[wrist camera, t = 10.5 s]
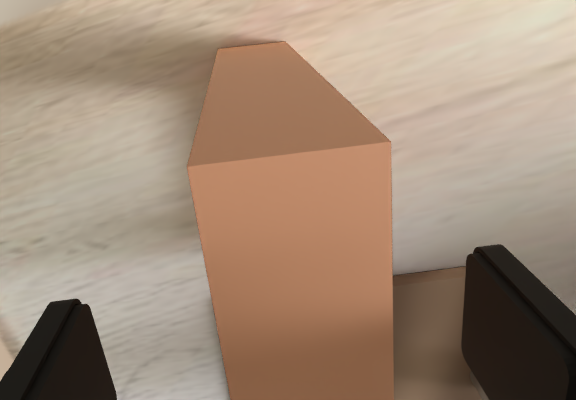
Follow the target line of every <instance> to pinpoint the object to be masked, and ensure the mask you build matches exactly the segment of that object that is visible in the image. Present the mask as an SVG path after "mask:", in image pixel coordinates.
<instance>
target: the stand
mask: <svg viewBox="0 0 576 400" xmlns="http://www.w3.org/2000/svg"><path fill="white" fill-rule="evenodd" d="M465 275H466V266H464V267H457V268H449V269H441V270H434V271H426V272H418V273H411V274H403V275H395V276H393V361H394V400H489V399H488V397H487V396H486V394H485V392H484V391H483V389H482V387H481V386H480V384H479V382H478V381H477V379H476V378H475V376H474V374H473V373H472V371H471V369H470V368H469V366H468V365H467V363H466V361H465V359H464V357H463V354H462V349H461V339H462V323H463V307H464V291H465Z"/></svg>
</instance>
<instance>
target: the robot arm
mask: <svg viewBox="0 0 576 400" xmlns="http://www.w3.org/2000/svg"><path fill="white" fill-rule="evenodd" d="M461 349H462V354H463V357H464V359H465V361H466V363H467V365H468V366H469V368H470V369H471V371H472V373H473V374H474V376H475V378H476V379H477V381H478V382H479V384H480V386H481V387H482V389H483V391H484V392H485V394H486V396H487V397H488V399H489V400H576V315H575V314H574V313H573V312H572V311H571V310H570V309H569V308H567V307H566V306H565V305H564V304H563V303H562V302H561V301H560V300H559V299H558V298H557V297H556V296H555V295H554V294H553V293H552V292H551V291H550V290H549V289H548V288H547V287H546V286H545V285H544V284H543V283H541V282H540V281H539V280H538V279H537V278H536V277H535V276H534V275H533V274H532V273H531V272H530V271H529V270H528V269H527V268H526V267H525V266H524V265H523V264H522V263H521V262H520V261H519V260H518V259H516V258H515V257H514V256H513V255H512V254H511V253H510V252H509V251H508V250H507V249H506V248H505V247H504V246H503V245H499V244H498V245H490V246H483V247H476V248H475V249H474V251H473V254H469V255H468V256H467V260H466V275H465V291H464V307H463V323H462V339H461ZM0 400H117V396H116V391H115V388H114V384H113V381H112V378H111V375H110V371H109V368H108V365H107V362H106V358H105V355H104V352H103V348H102V345H101V342H100V339H99V335H98V332H97V329H96V326H95V322H94V319H93V316H92V312H91V309H90V307H89V305H88V304H81V302H80V300H78V299H70V300H62V301H54V302H50V303H49V305H48V306H47V308H46V309H45V311H44V313H43V314H42V316H41V317H40V319H39V321H38V322H37V324H36V326H35V327H34V329H33V331H32V332H31V334H30V336H29V337H28V339H27V340H26V342H25V344H24V345H23V347H22V349H21V350H20V352H19V354H18V355H17V357H16V359H15V360H14V362H13V364H12V365H11V367H10V368H9V370H8V371H7V372H6V373H5V375H4V376H3V378H2V380H1V381H0Z"/></svg>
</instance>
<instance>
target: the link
mask: <svg viewBox="0 0 576 400" xmlns="http://www.w3.org/2000/svg"><path fill="white" fill-rule="evenodd" d="M187 170H188V176H189V181H190V186H191V192H192V197H193V202H194V208H195V213H196V218H197V224H198V229H199V234H200V239H201V245H202V250H203V255H204V261H205V266H206V271H207V277H208V282H209V287H210V293H211V298H212V303H213V309H214V314H215V319H216V325H217V330H218V335H219V340H220V346H221V351H222V356H223V362H224V367H225V372H226V378H227V383H228V388H229V394H230V399H231V400H394V361H393V273H392V185H391V141H390V140H389V139H388V138H387V137H386V136H385V135H384V134H382V133H381V132H380V131H379V130H378V129H377V128H376V127H375V126H374V125H373V124H372V123H371V122H370V121H369V120H368V119H367V118H366V117H365V116H363V115H362V114H361V113H360V112H359V111H358V110H357V109H356V108H355V107H354V106H353V105H352V104H351V103H350V102H349V101H348V100H347V99H346V98H344V97H343V96H342V95H341V94H340V93H339V92H338V91H337V90H336V89H335V88H334V87H333V86H332V85H331V84H330V83H329V82H328V81H327V80H325V79H324V78H323V77H322V76H321V75H320V74H319V73H318V72H317V71H316V70H315V69H314V68H313V67H312V66H311V65H310V64H309V63H307V62H306V61H305V60H304V59H303V58H302V57H301V56H300V55H299V54H298V53H297V52H296V51H295V50H294V49H293V48H292V47H291V46H290V45H288V44H287V43H286V42H275V43H266V44H257V45H248V46H239V47H230V48H221V49H218V51H217V55H216V59H215V63H214V66H213V70H212V74H211V78H210V81H209V85H208V89H207V93H206V96H205V100H204V104H203V108H202V111H201V115H200V119H199V123H198V127H197V130H196V134H195V138H194V142H193V145H192V149H191V153H190V157H189V160H188V164H187Z"/></svg>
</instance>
